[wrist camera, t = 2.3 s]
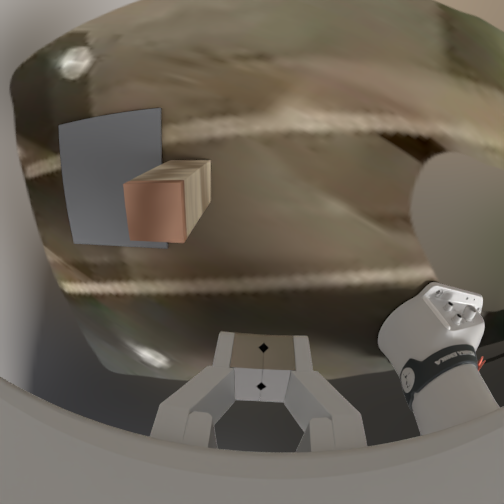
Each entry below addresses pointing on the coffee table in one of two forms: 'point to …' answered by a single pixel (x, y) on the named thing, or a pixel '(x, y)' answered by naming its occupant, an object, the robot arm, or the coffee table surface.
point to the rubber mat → (107, 172)
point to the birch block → (167, 200)
